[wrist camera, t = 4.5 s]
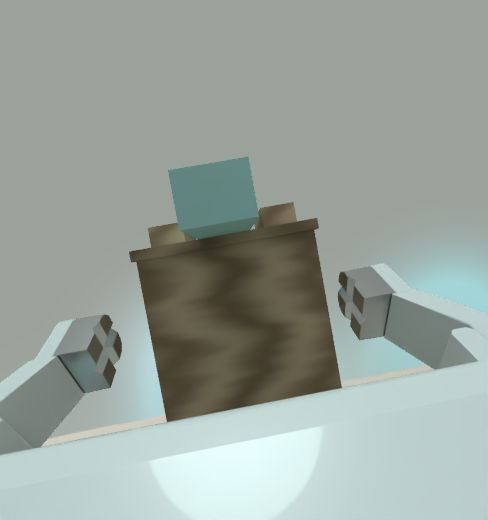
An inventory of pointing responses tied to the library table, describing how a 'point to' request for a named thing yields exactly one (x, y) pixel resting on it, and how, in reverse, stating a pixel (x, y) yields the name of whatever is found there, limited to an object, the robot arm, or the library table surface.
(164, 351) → the brown tall textured block
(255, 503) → the robot arm
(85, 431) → the library table surface
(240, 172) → the batten
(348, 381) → the library table surface
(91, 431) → the library table surface
